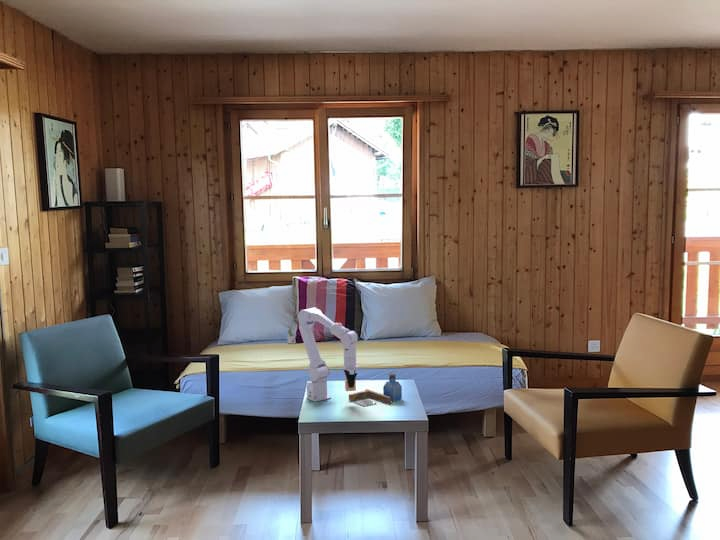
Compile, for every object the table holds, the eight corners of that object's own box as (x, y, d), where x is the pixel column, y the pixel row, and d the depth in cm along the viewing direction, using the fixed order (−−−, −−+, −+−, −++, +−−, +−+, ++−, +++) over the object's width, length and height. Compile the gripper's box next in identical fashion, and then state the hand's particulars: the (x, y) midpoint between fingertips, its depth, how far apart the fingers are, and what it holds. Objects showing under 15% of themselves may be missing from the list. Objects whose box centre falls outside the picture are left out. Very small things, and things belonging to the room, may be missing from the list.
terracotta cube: (346, 391, 289) (345, 381, 288) (345, 388, 293) (344, 378, 293) (355, 390, 289) (355, 380, 289) (354, 388, 294) (354, 378, 293)
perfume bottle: (392, 396, 302) (392, 372, 301) (401, 399, 298) (401, 374, 297) (383, 399, 298) (383, 375, 297) (392, 402, 293) (392, 377, 292)
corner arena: (369, 408, 284) (369, 402, 283) (346, 400, 298) (346, 394, 298) (390, 403, 291) (390, 397, 291) (367, 395, 306) (367, 389, 305)
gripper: (360, 360, 283) (361, 389, 284) (356, 353, 298) (357, 381, 299) (345, 361, 282) (345, 390, 284) (341, 354, 297) (342, 382, 298)
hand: (350, 386), depth 291 cm, fingers closed on terracotta cube, 4 cm apart
